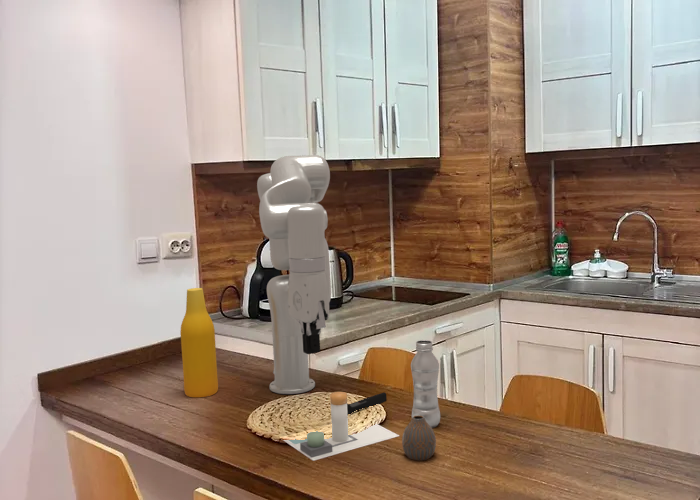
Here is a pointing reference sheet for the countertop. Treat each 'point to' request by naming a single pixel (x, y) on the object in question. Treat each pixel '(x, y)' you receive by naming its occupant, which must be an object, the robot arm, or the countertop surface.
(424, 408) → the plastic bottle
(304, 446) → the button housing
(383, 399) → the electric trimmer
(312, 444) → the button
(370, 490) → the countertop surface
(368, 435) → the sheet
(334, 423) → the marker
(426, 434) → the vase
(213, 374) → the beer bottle
